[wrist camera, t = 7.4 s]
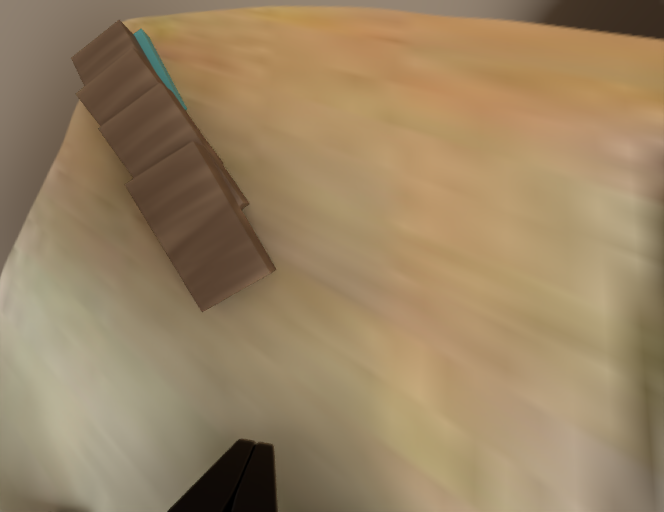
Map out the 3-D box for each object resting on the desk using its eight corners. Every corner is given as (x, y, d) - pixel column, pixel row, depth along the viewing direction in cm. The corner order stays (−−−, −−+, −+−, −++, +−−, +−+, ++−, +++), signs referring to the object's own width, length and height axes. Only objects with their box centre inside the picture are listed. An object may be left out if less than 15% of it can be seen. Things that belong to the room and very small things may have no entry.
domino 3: (215, 159, 24) (132, 47, 23) (159, 202, 24) (75, 93, 24) (223, 163, 26) (145, 58, 25) (170, 203, 26) (91, 101, 25)
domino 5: (179, 101, 27) (141, 28, 29) (127, 138, 27) (94, 63, 30) (192, 114, 28) (154, 43, 31) (143, 149, 29) (110, 76, 31)
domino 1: (270, 273, 21) (192, 141, 21) (202, 312, 22) (124, 184, 21) (276, 269, 23) (204, 146, 22) (212, 305, 23) (140, 186, 23)
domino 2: (243, 202, 23) (160, 82, 22) (181, 245, 23) (98, 128, 22) (249, 203, 24) (172, 91, 23) (191, 243, 25) (113, 134, 24)
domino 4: (162, 93, 25) (119, 19, 28) (108, 135, 25) (71, 58, 28) (176, 107, 27) (134, 35, 29) (125, 146, 27) (88, 72, 30)
